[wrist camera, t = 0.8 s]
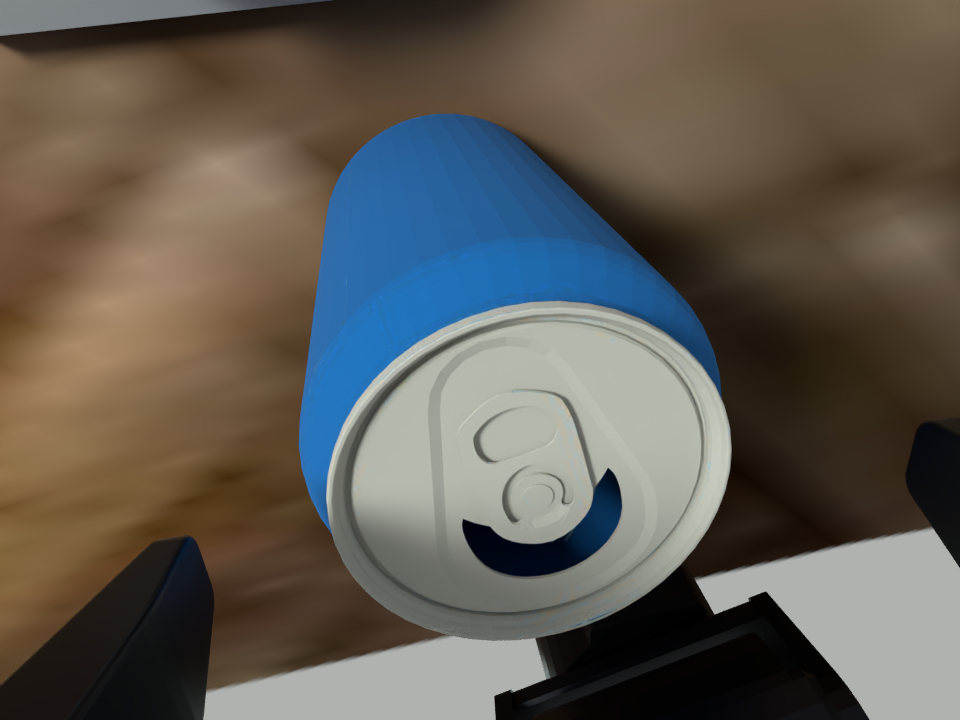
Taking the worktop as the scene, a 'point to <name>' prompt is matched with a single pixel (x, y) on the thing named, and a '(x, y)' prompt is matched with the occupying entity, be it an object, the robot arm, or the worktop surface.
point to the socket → (111, 11)
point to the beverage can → (501, 392)
